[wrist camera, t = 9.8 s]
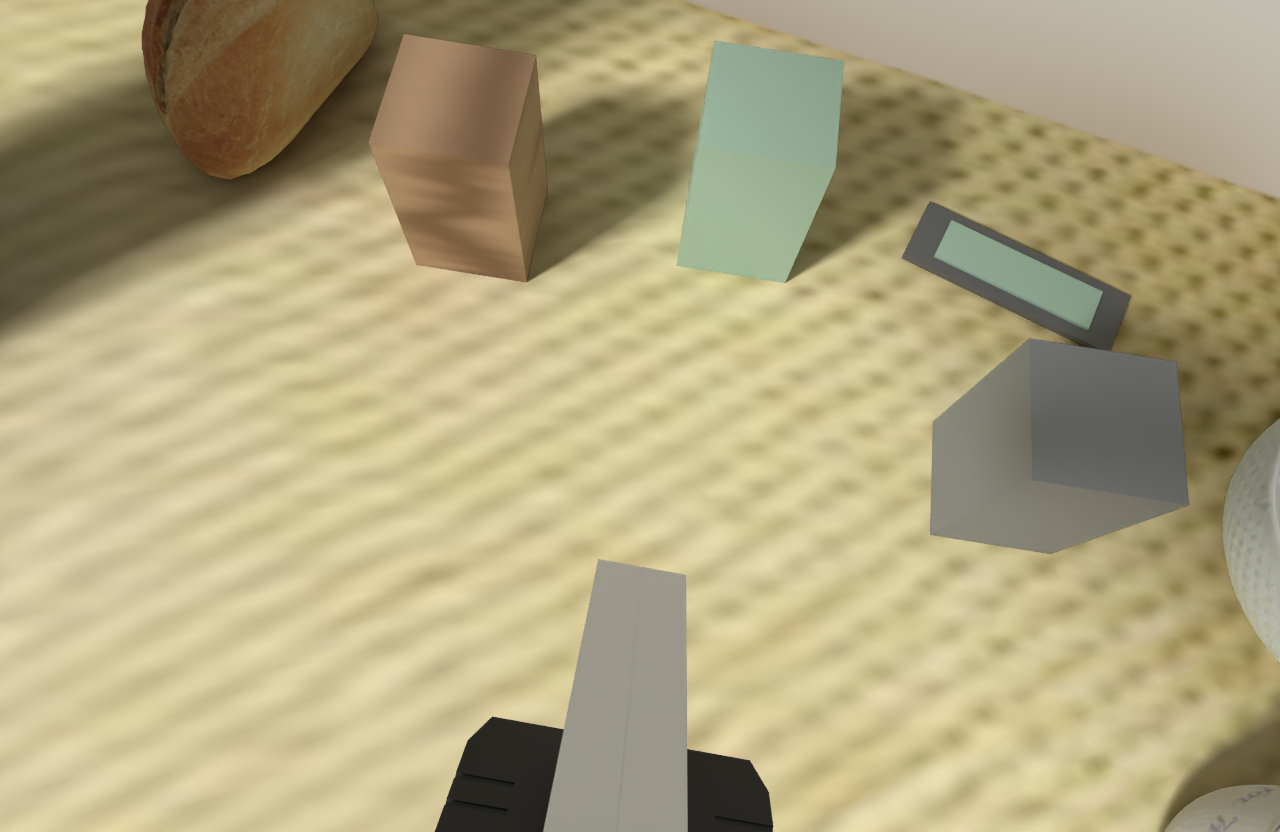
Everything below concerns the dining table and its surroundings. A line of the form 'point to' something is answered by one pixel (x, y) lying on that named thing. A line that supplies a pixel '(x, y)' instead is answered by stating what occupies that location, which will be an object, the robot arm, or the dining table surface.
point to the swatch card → (1017, 278)
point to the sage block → (760, 160)
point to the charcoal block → (1059, 449)
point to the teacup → (1231, 811)
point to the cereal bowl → (1256, 536)
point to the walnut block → (464, 155)
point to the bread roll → (247, 72)
